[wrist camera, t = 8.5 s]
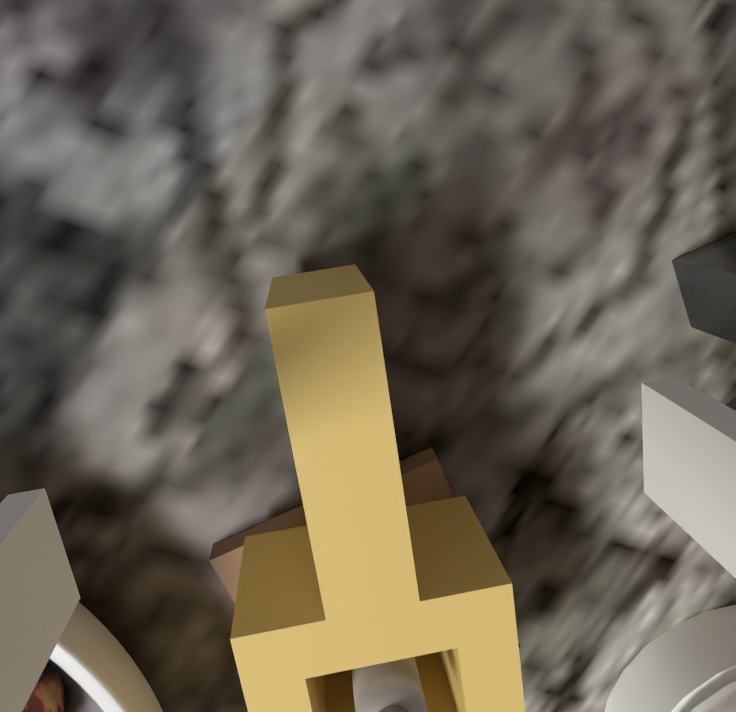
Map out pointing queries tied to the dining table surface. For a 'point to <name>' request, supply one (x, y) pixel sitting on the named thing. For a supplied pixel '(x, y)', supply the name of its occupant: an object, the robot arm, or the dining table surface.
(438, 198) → the dining table surface
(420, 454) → the pintle stand
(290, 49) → the dining table surface
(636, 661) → the honey pot
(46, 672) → the bowl
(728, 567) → the robot arm
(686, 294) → the keeper
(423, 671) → the link
